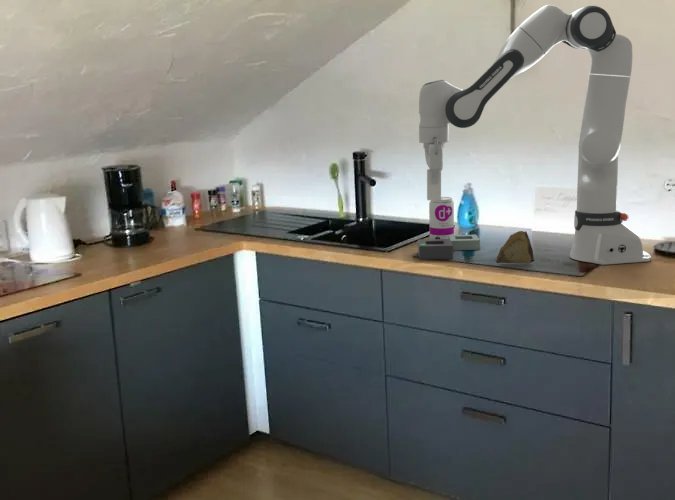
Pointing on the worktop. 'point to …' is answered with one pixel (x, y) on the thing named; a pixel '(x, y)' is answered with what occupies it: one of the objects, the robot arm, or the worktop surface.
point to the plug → (433, 187)
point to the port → (435, 249)
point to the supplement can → (441, 218)
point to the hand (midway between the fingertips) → (434, 182)
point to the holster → (465, 242)
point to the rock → (516, 249)
